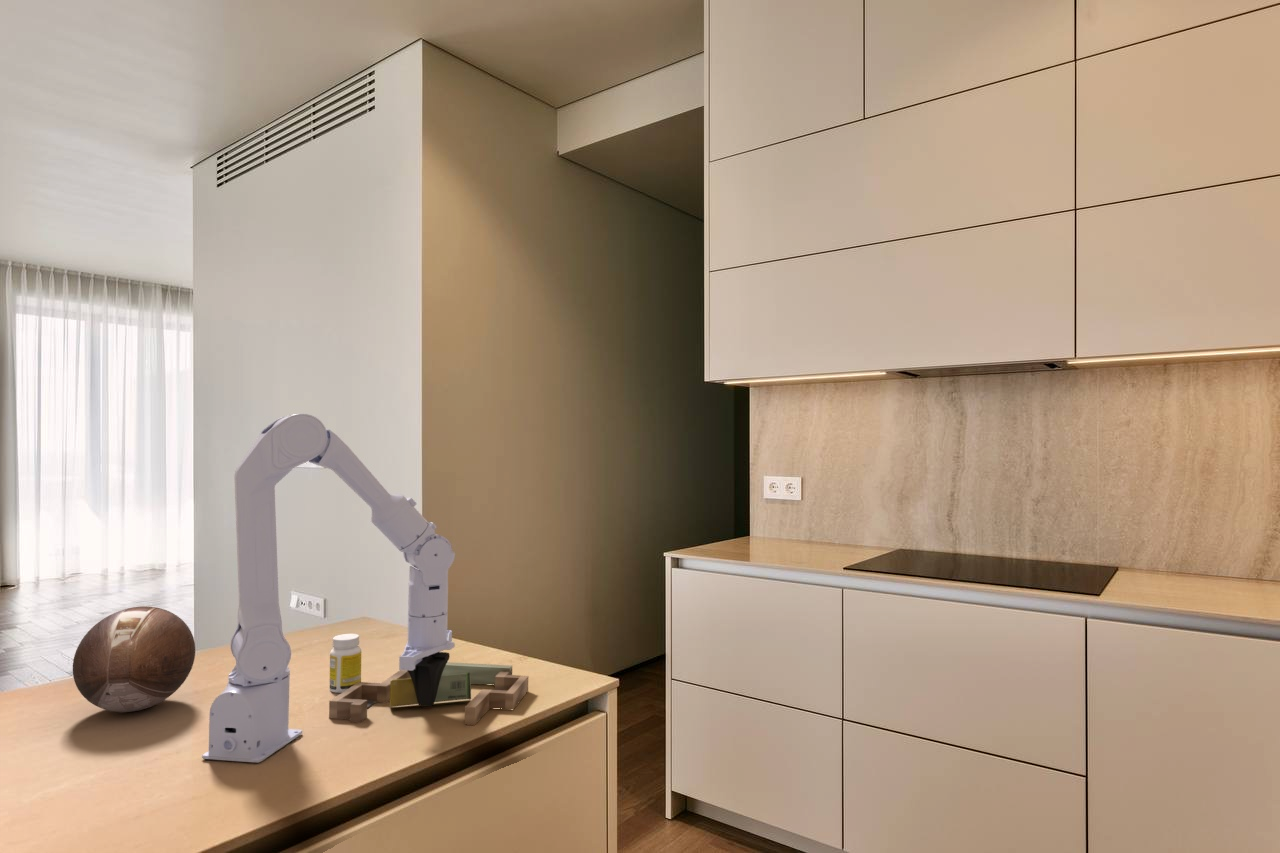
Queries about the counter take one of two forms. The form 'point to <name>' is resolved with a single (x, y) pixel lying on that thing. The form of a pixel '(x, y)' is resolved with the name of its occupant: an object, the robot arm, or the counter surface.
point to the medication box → (447, 691)
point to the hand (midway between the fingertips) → (426, 704)
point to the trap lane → (506, 684)
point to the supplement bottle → (345, 662)
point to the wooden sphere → (133, 659)
